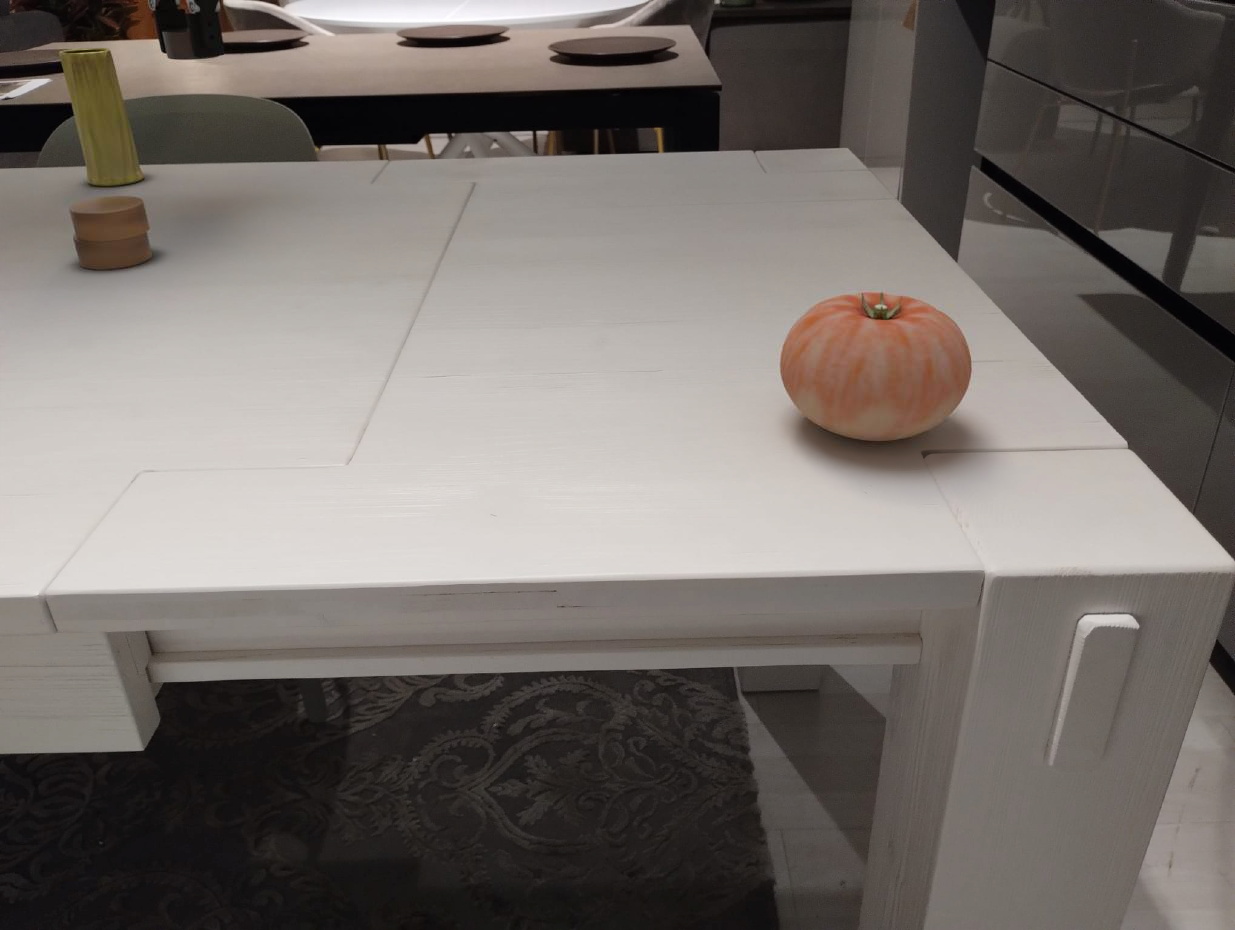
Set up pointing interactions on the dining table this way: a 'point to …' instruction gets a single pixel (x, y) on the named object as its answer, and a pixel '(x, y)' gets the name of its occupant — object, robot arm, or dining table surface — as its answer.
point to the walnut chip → (179, 44)
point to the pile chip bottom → (113, 252)
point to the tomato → (875, 366)
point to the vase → (101, 117)
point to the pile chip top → (109, 218)
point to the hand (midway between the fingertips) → (193, 52)
